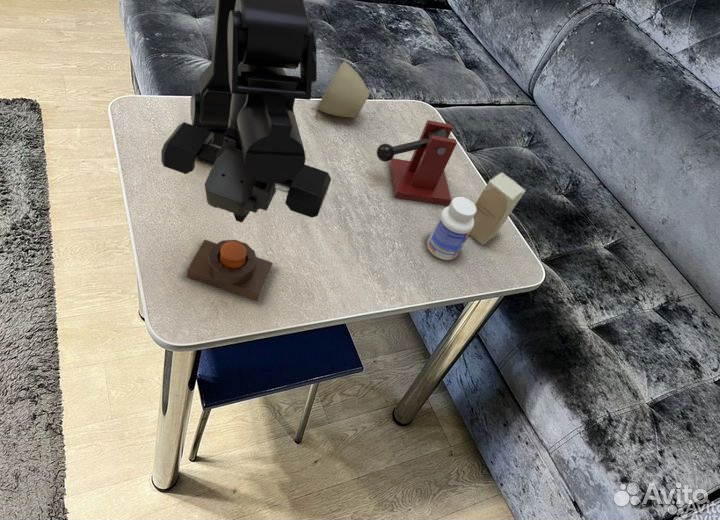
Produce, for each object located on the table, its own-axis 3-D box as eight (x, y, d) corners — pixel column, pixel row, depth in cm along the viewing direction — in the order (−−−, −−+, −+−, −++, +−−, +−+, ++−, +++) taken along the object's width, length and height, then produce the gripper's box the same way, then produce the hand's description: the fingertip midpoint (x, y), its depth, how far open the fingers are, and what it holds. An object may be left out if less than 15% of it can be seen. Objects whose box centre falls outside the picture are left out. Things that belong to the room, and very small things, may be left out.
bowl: (343, 138, 112) (311, 118, 111) (362, 106, 117) (331, 87, 116) (364, 104, 103) (329, 82, 103) (382, 71, 109) (349, 50, 108)
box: (460, 227, 100) (487, 179, 92) (473, 217, 103) (501, 170, 95) (484, 246, 99) (513, 199, 91) (497, 236, 101) (527, 189, 93)
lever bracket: (394, 197, 101) (417, 143, 92) (389, 163, 107) (409, 109, 98) (448, 205, 103) (475, 153, 95) (440, 172, 109) (464, 120, 101)
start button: (215, 263, 78) (216, 255, 76) (224, 246, 80) (226, 237, 79) (240, 272, 78) (241, 263, 76) (248, 254, 80) (250, 246, 79)
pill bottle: (458, 264, 94) (483, 222, 87) (427, 257, 93) (449, 214, 86) (455, 239, 98) (479, 197, 91) (425, 233, 97) (446, 190, 90)
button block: (186, 278, 79) (187, 261, 76) (204, 246, 83) (205, 229, 80) (257, 302, 79) (261, 286, 77) (271, 269, 83) (275, 253, 81)
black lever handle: (379, 167, 99) (375, 153, 97) (377, 155, 101) (374, 142, 99) (449, 150, 98) (447, 136, 96) (446, 139, 100) (443, 125, 98)
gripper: (137, 129, 57) (139, 238, 68) (320, 193, 58) (292, 290, 69) (184, 75, 65) (179, 180, 76) (345, 132, 65) (316, 227, 77)
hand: (240, 219), depth 74 cm, fingers closed
